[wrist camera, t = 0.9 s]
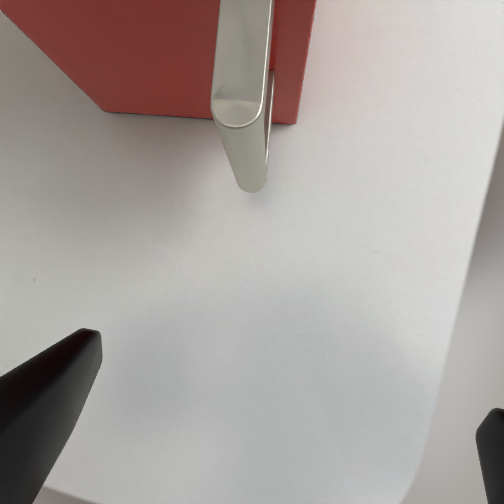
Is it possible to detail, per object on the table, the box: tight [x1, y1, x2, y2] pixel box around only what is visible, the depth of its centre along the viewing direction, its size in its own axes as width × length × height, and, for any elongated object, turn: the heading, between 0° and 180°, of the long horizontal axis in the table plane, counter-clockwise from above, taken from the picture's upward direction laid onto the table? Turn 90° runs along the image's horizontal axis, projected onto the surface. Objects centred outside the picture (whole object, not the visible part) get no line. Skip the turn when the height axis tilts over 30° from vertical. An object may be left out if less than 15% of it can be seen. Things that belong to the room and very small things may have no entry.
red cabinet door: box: [0, 0, 317, 193], centre depth 17 cm, size 6×12×13 cm, turn 85°
